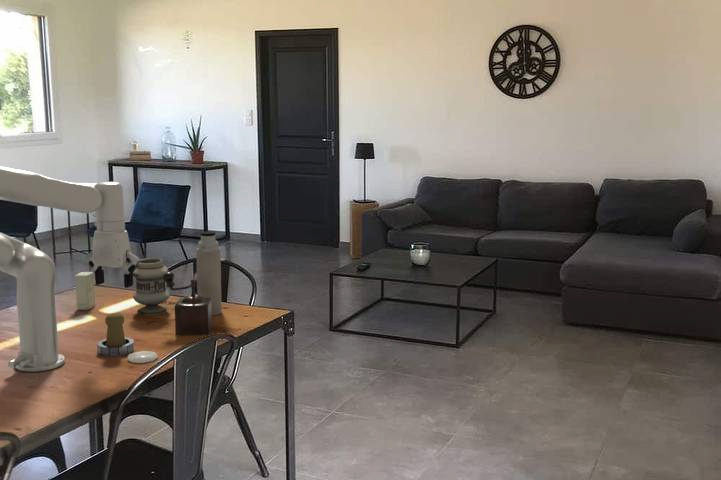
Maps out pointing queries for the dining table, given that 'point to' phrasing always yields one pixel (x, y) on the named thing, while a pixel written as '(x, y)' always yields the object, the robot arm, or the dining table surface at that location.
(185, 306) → the pepper mill
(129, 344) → the holder ring
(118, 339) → the cork
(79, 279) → the skincare box
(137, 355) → the pebble
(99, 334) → the dining table surface
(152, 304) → the apothecary jar
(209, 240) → the thermos bottle
